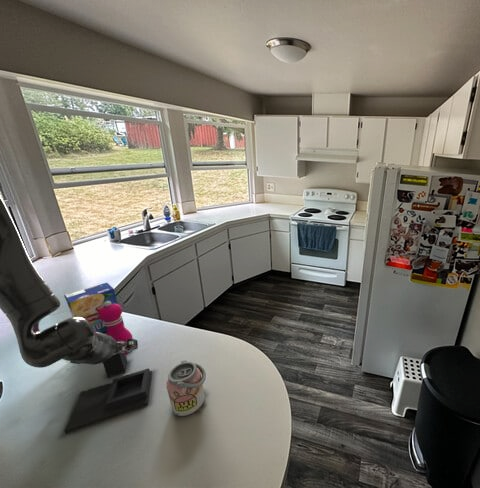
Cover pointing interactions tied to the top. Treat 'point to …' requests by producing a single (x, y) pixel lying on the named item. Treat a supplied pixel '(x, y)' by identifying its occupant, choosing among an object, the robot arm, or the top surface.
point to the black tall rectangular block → (116, 364)
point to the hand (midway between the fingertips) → (114, 352)
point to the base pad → (110, 400)
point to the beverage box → (91, 304)
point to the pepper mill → (114, 322)
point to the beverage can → (186, 387)
